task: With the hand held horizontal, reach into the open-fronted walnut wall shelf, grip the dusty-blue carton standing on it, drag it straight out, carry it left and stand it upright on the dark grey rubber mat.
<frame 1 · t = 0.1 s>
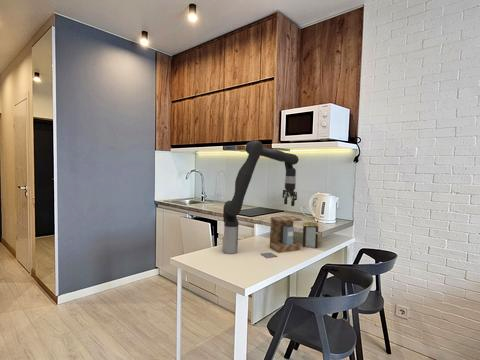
hand: (289, 205, 200), 29 cm above the table, tool pointing down, fingers open, 8 cm apart
shelf: (285, 249, 192), on the table
mat: (268, 255, 177), on the table
carton: (287, 243, 191), point 4 cm above the table, touching shelf
baking soda box: (285, 238, 221), on the table
protein box: (309, 245, 205), on the table
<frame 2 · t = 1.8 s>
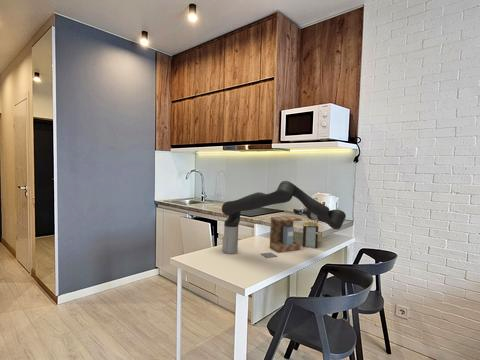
hand: (299, 210, 180), 29 cm above the table, tool horizontal, fingers open, 8 cm apart
nothing on the table moved.
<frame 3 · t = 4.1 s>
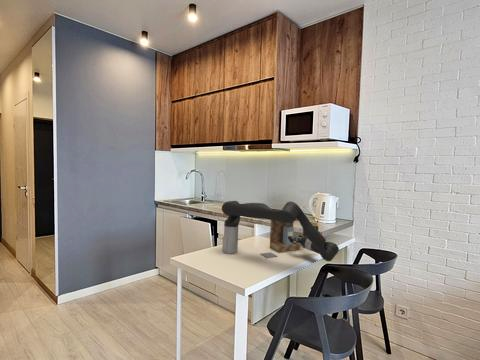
hand: (293, 237, 185), 10 cm above the table, tool horizontal, fingers open, 8 cm apart
nothing on the table moved.
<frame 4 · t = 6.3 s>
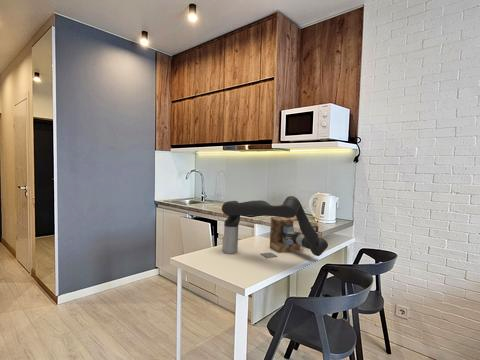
hand: (285, 233, 193), 11 cm above the table, tool horizontal, fingers closed on carton, 5 cm apart
carton: (287, 243, 191), point 4 cm above the table, touching gripper, shelf
everything else where it was.
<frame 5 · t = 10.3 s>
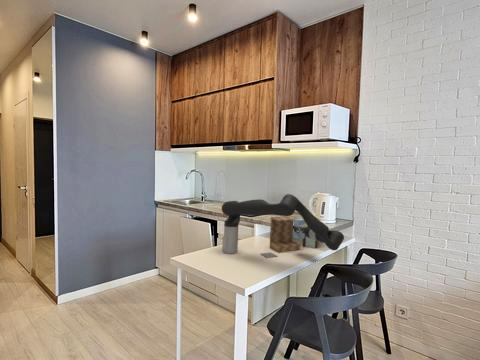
hand: (296, 227, 181), 18 cm above the table, tool horizontal, fingers closed on carton, 5 cm apart
carton: (298, 237, 179), point 11 cm above the table, touching gripper
everything else where it was.
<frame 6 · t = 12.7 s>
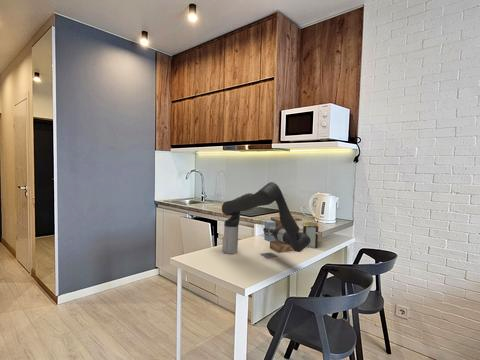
hand: (267, 229, 178), 16 cm above the table, tool horizontal, fingers closed on carton, 5 cm apart
carton: (269, 240, 176), point 10 cm above the table, touching gripper
everything else where it was.
when the fingers open (8 cm above the table, at t = 14.5 s): carton stays where it is, resting on mat.
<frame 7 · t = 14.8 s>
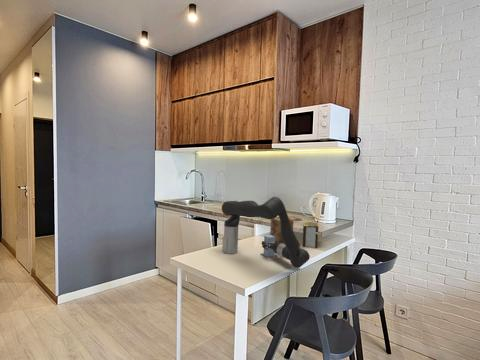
hand: (267, 242, 178), 8 cm above the table, tool horizontal, fingers open, 7 cm apart
carton: (268, 254, 177), resting on mat
everything else where it was.
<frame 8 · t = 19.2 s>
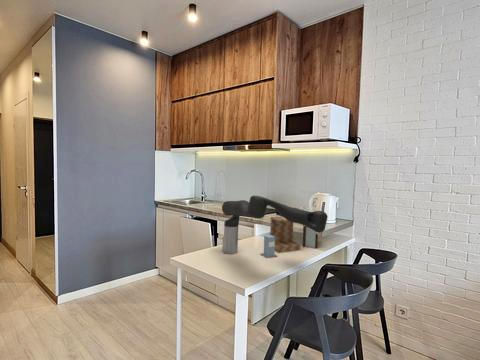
hand: (281, 210, 168), 30 cm above the table, tool horizontal, fingers open, 8 cm apart
nothing on the table moved.
at the end: carton inside the target area on the mat (0.0 cm from its centre), point 0.4 cm above the mat's base; carton tilted 0°; the gripper is holding nothing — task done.
